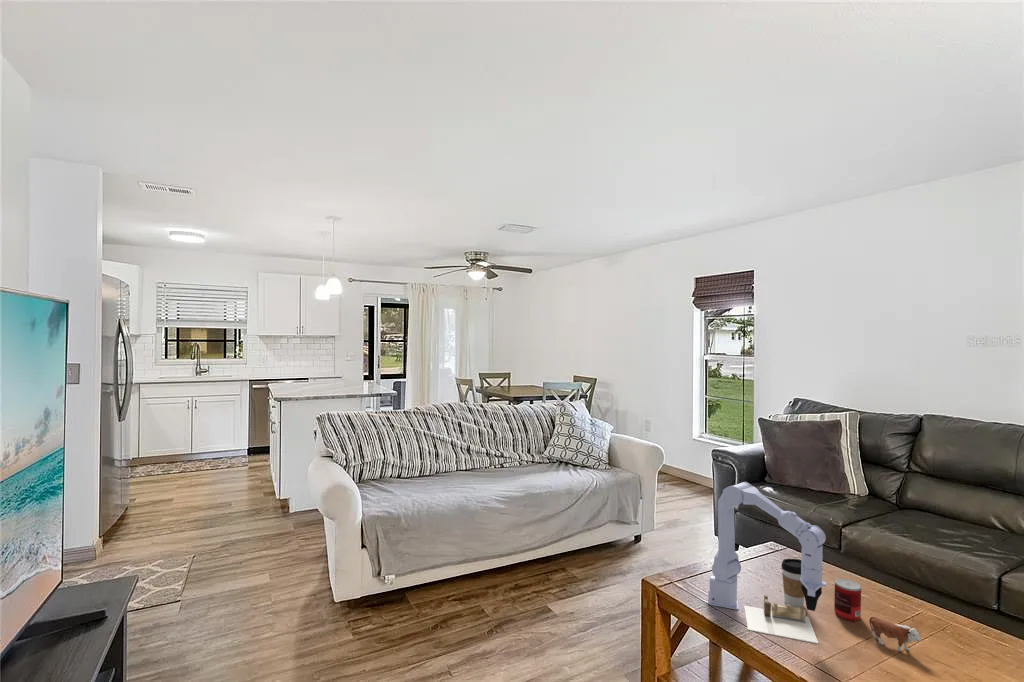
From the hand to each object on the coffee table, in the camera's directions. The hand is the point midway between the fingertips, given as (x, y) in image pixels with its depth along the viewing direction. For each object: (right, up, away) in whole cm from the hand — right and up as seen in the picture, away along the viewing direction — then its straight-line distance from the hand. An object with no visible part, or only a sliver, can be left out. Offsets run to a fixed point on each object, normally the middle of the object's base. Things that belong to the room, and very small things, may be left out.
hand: (810, 609), depth 161 cm
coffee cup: (+7, -10, +23) cm, 26 cm away
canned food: (+22, -10, +15) cm, 29 cm away
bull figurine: (+24, -11, -3) cm, 27 cm away
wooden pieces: (-6, -10, +16) cm, 20 cm away
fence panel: (0, -9, +13) cm, 15 cm away
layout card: (-5, -10, +9) cm, 15 cm away
